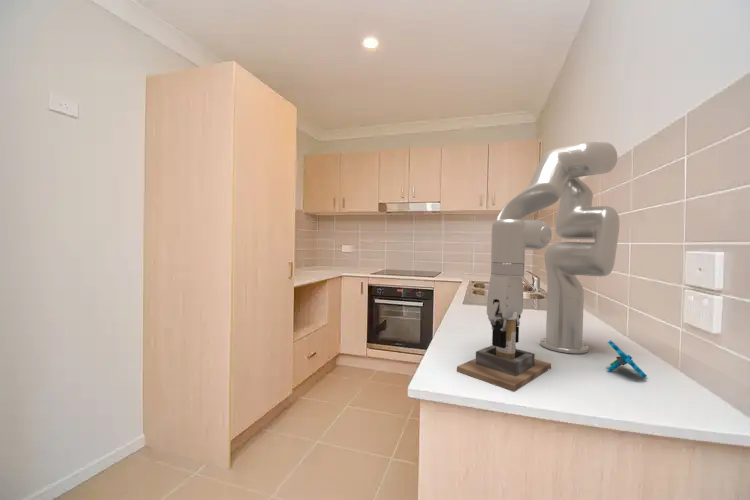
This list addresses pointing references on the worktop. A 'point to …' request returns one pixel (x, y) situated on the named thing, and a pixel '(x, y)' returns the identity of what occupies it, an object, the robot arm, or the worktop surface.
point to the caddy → (504, 368)
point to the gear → (623, 360)
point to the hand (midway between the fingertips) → (505, 343)
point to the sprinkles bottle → (509, 338)
